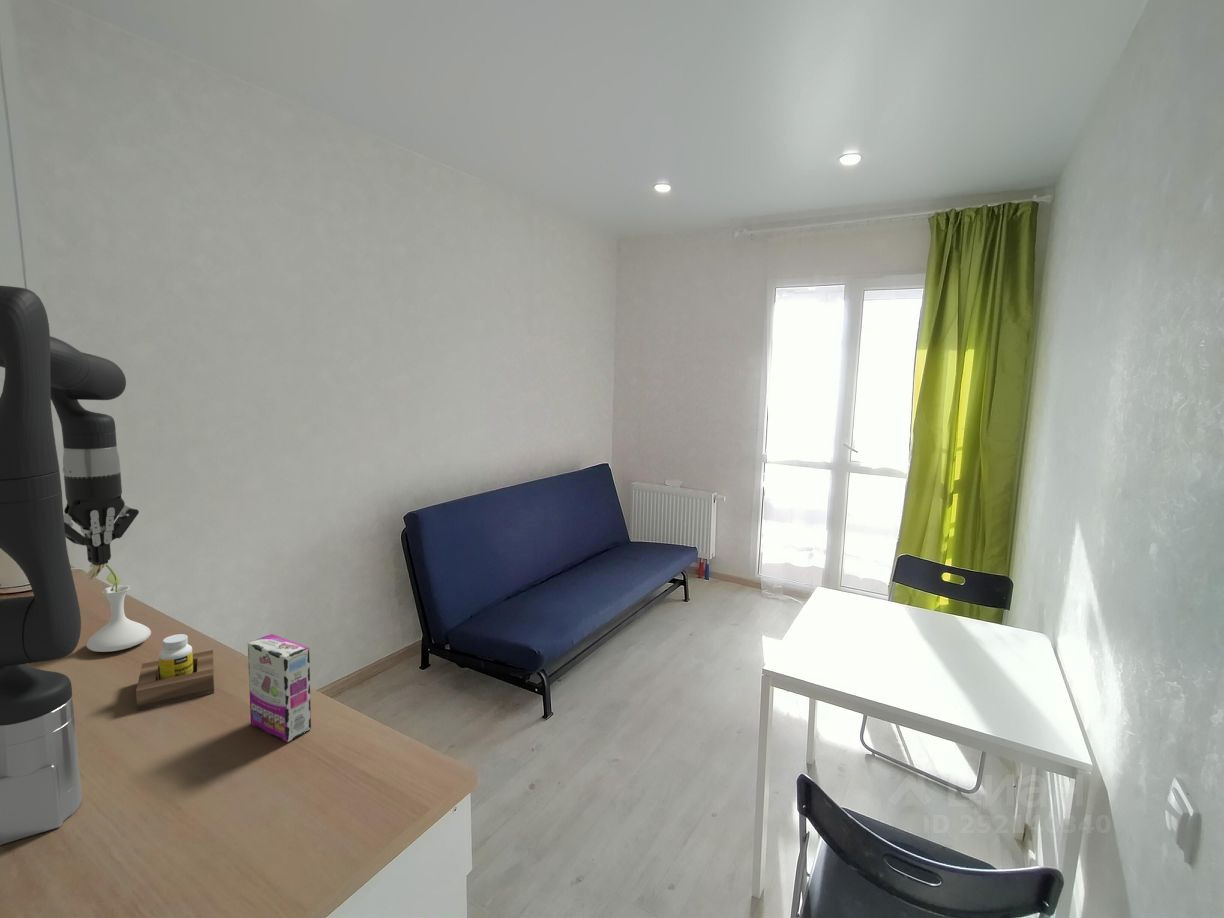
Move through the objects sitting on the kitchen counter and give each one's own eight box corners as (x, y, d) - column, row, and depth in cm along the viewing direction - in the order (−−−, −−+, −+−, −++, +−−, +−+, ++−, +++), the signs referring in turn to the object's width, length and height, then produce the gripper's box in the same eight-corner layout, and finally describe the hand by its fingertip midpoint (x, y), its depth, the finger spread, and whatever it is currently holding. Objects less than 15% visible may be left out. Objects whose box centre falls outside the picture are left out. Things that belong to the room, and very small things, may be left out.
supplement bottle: (175, 692, 112) (172, 646, 110) (153, 687, 113) (150, 642, 112) (200, 678, 117) (198, 634, 116) (179, 674, 118) (176, 630, 117)
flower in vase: (96, 638, 133) (88, 537, 130) (157, 631, 138) (150, 533, 135) (75, 664, 122) (65, 554, 118) (142, 655, 127) (134, 549, 123)
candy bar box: (313, 729, 104) (311, 646, 102) (287, 744, 100) (284, 658, 97) (275, 711, 109) (272, 632, 107) (249, 724, 105) (245, 642, 102)
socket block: (214, 692, 114) (213, 674, 113) (137, 710, 107) (135, 691, 106) (213, 666, 124) (213, 649, 123) (143, 681, 117) (142, 663, 116)
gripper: (59, 479, 93) (68, 578, 96) (147, 468, 106) (153, 557, 108) (32, 474, 96) (41, 571, 98) (121, 465, 108) (127, 551, 110)
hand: (100, 563), depth 103 cm, fingers closed
